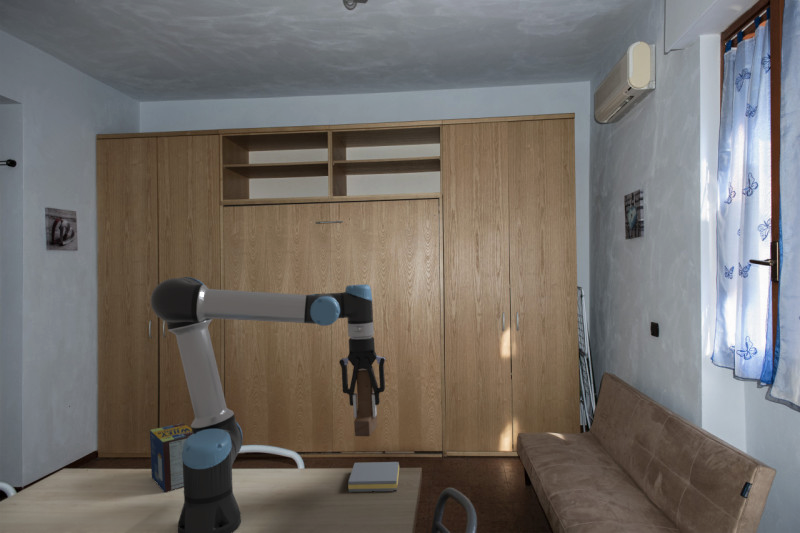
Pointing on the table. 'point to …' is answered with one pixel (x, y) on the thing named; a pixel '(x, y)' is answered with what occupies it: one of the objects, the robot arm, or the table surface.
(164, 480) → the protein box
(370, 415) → the wooden block
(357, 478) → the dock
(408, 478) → the table surface
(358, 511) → the table surface
